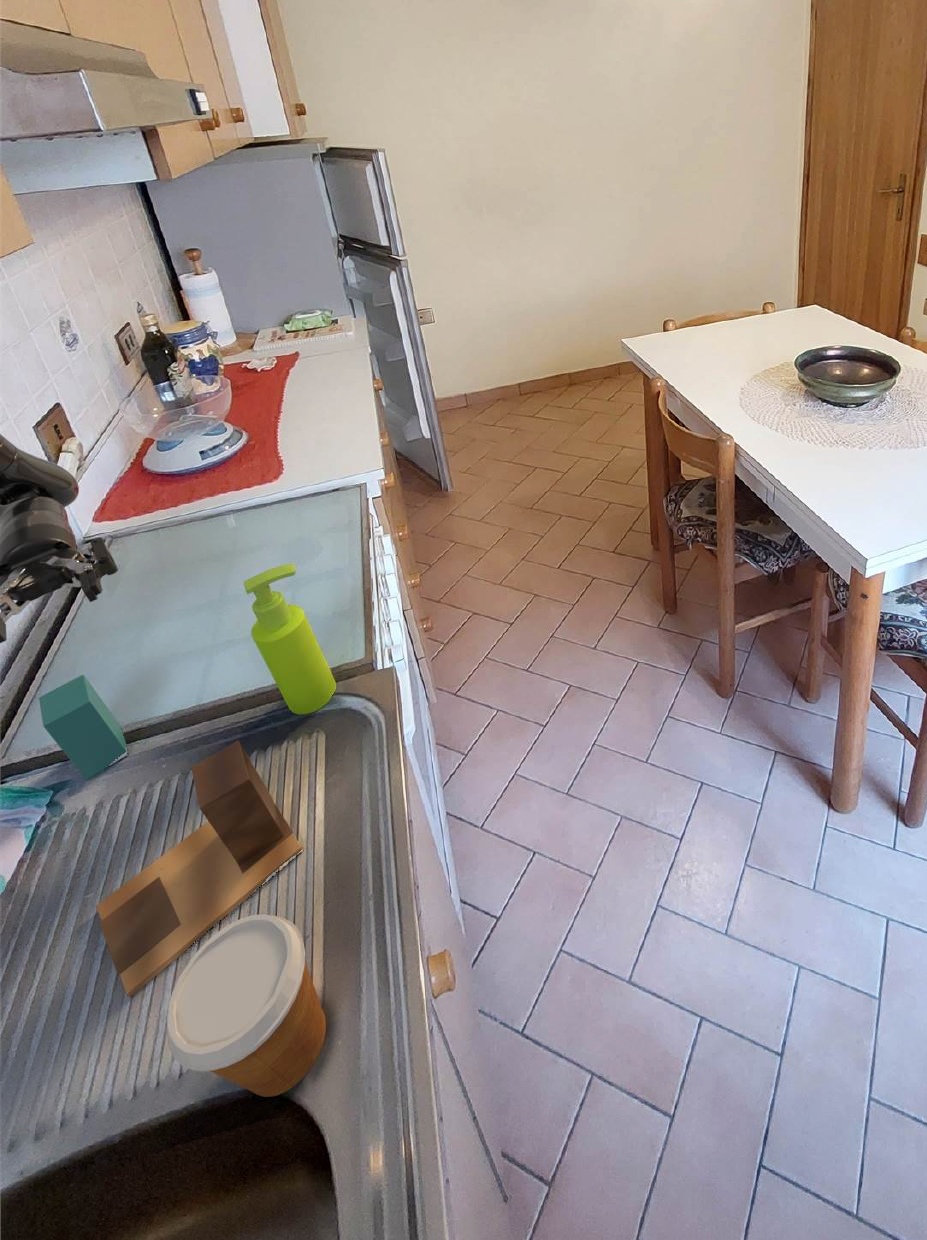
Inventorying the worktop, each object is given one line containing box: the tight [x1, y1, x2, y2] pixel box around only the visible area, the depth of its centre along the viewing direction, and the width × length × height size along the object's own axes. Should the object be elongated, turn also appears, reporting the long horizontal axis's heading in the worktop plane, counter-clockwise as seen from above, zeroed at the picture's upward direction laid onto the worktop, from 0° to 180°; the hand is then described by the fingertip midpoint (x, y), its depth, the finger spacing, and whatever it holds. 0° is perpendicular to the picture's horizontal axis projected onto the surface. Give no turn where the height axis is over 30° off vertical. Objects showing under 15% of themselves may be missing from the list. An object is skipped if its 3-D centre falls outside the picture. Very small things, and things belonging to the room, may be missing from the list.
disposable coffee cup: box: [166, 914, 327, 1098], centre depth 54 cm, size 10×10×12 cm
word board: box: [95, 802, 303, 998], centre depth 69 cm, size 16×11×1 cm
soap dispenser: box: [243, 563, 337, 716], centre depth 84 cm, size 6×7×20 cm
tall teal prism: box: [38, 674, 127, 781], centre depth 81 cm, size 4×6×10 cm
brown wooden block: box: [190, 740, 284, 865], centre depth 70 cm, size 4×6×10 cm
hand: (45, 615), depth 77 cm, fingers open, 8 cm apart
